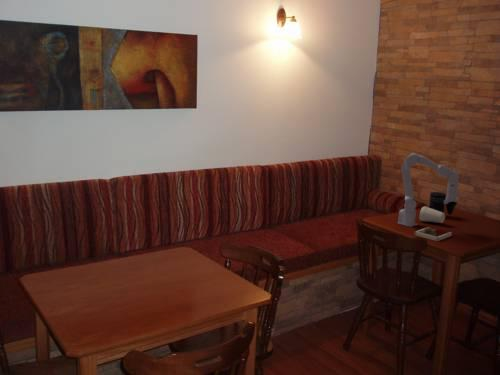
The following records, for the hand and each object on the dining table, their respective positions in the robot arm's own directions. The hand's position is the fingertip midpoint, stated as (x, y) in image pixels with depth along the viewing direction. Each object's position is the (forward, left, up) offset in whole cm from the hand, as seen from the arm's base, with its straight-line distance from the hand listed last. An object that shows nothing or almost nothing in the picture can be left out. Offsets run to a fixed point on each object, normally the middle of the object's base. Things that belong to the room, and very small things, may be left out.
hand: (449, 213), depth 304 cm
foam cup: (-7, +7, -5) cm, 11 cm away
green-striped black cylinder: (-21, +25, -10) cm, 34 cm away
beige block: (0, -21, -10) cm, 23 cm away
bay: (0, -18, -10) cm, 20 cm away
